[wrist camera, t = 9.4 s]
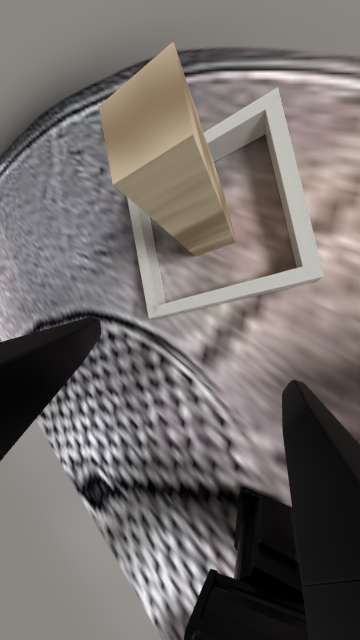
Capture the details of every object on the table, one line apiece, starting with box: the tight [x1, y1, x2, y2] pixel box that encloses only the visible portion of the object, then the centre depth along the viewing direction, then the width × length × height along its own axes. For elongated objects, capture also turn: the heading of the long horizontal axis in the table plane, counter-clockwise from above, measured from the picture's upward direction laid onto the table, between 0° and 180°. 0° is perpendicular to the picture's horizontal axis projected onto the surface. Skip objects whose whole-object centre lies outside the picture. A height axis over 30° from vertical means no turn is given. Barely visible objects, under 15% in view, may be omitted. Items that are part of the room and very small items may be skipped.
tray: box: [127, 87, 324, 319], centre depth 20 cm, size 16×16×2 cm
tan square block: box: [99, 42, 235, 256], centre depth 15 cm, size 4×4×13 cm
